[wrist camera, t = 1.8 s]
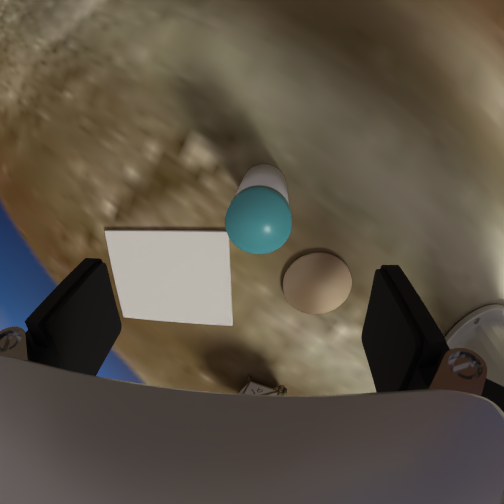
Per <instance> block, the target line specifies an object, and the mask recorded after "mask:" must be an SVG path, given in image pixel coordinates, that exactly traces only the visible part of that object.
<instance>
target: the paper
mask: <svg viewBox="0 0 504 504" xmlns="http://www.w3.org/2000/svg"><path fill="white" fill-rule="evenodd" d="M105 235H106V241H107V246H108V251H109V256H110V261H111V266H112V271H113V275H114V280H115V284H116V288H117V292H118V297H119V301H120V305H121V309H122V312H123V316H124V317H127V318H137V319H147V320H157V321H169V322H181V323H195V324H210V325H228V326H233V315H232V294H231V271H230V246H229V236H228V234H227V231H204V230H105Z"/></svg>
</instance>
